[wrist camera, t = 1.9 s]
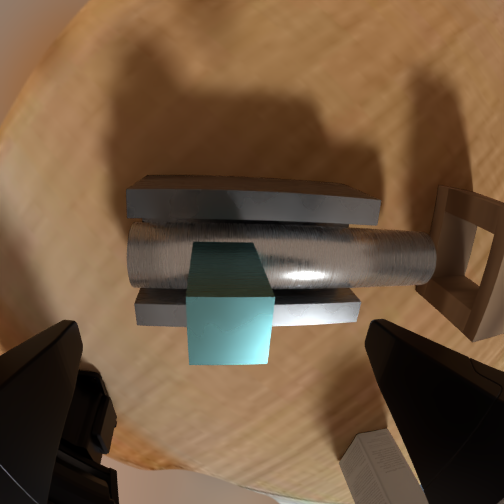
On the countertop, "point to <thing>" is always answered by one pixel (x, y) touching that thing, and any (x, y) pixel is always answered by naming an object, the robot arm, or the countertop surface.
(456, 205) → the socket block
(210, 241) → the rod
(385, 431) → the skincare box
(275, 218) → the channel
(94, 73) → the countertop surface
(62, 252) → the countertop surface
